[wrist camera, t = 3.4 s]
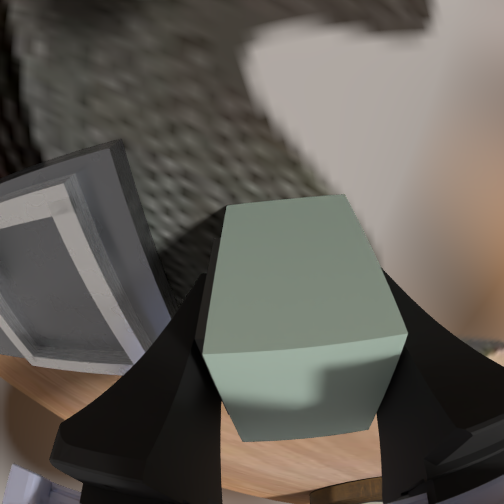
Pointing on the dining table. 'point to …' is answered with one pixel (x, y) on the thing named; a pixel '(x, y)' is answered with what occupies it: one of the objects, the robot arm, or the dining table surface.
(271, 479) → the dining table surface
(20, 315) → the rail
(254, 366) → the block
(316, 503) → the wooden container
